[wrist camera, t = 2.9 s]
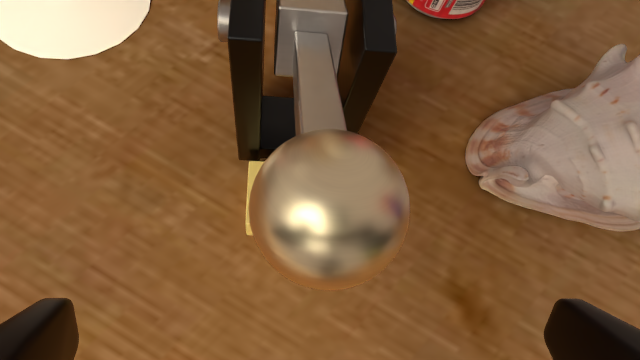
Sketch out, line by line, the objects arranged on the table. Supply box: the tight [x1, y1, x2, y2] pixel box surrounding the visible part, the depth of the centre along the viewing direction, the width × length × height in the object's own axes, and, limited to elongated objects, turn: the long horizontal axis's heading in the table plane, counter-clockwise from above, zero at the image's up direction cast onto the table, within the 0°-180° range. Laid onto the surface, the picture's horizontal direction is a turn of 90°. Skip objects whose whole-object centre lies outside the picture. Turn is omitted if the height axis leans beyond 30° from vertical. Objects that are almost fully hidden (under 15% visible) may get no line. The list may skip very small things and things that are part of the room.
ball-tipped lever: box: [249, 0, 410, 291], centre depth 11 cm, size 12×3×3 cm, turn 1°
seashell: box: [465, 44, 640, 231], centre depth 19 cm, size 10×12×9 cm
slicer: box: [218, 0, 397, 161], centre depth 17 cm, size 4×6×10 cm
